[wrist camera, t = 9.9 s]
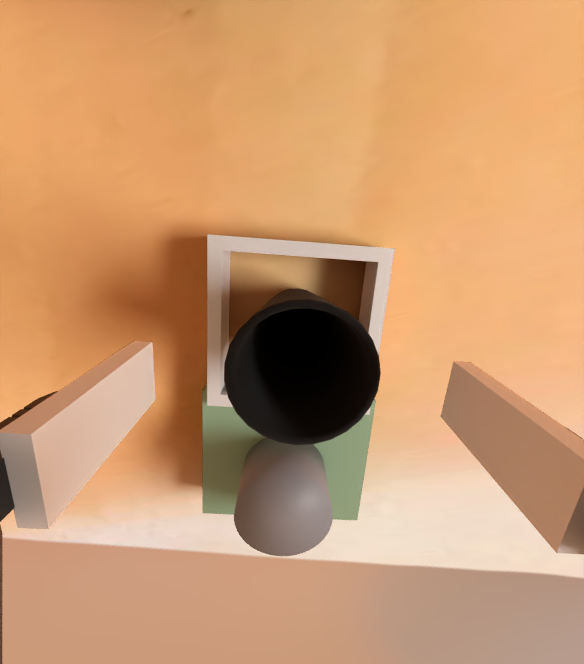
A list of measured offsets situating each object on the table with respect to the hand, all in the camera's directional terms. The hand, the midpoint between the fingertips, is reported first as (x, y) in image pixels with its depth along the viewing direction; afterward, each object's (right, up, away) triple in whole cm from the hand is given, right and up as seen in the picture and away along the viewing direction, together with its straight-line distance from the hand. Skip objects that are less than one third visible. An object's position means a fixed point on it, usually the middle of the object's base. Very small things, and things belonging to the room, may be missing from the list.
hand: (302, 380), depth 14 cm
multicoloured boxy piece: (-1, -2, +14) cm, 15 cm away
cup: (0, +3, +13) cm, 14 cm away
